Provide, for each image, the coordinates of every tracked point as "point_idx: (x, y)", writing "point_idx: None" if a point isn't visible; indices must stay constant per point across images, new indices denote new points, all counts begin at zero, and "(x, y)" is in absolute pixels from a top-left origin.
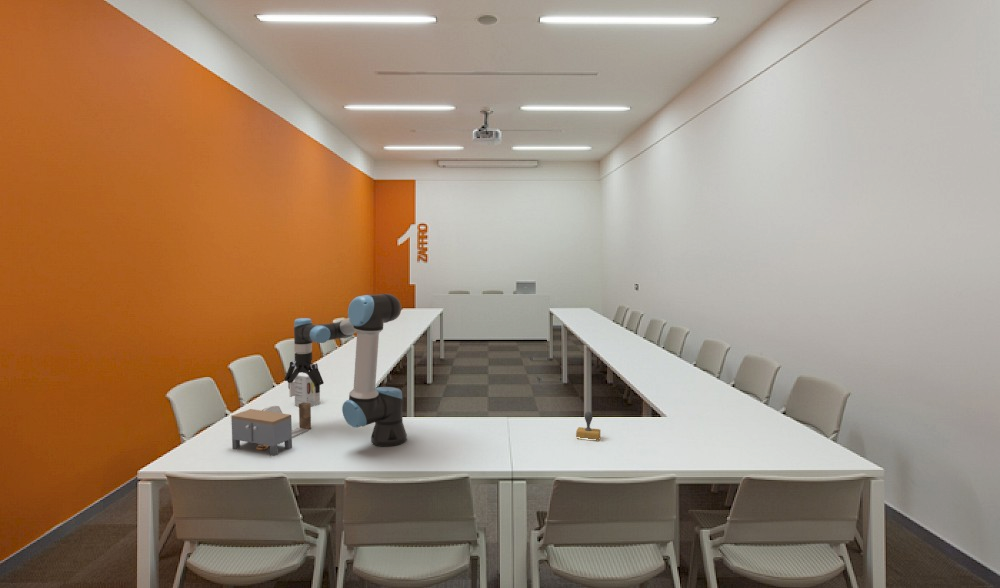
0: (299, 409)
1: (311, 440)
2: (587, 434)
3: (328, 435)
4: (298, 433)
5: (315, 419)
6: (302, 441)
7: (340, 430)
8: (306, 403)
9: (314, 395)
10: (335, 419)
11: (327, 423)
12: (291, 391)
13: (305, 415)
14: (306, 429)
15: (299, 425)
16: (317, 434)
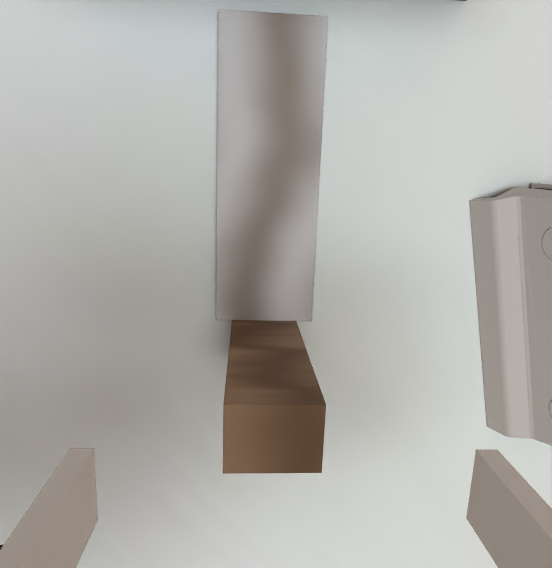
0: (311, 378)
1: (51, 161)
2: None
3: (14, 290)
4: (220, 222)
5: (332, 514)
6: (97, 120)
7: (12, 402)
8: (260, 452)
9: (43, 493)
10: (205, 558)
11: (200, 481)
12: (513, 510)
13: (236, 357)
14: (225, 312)
15: (297, 326)
16: (104, 280)
